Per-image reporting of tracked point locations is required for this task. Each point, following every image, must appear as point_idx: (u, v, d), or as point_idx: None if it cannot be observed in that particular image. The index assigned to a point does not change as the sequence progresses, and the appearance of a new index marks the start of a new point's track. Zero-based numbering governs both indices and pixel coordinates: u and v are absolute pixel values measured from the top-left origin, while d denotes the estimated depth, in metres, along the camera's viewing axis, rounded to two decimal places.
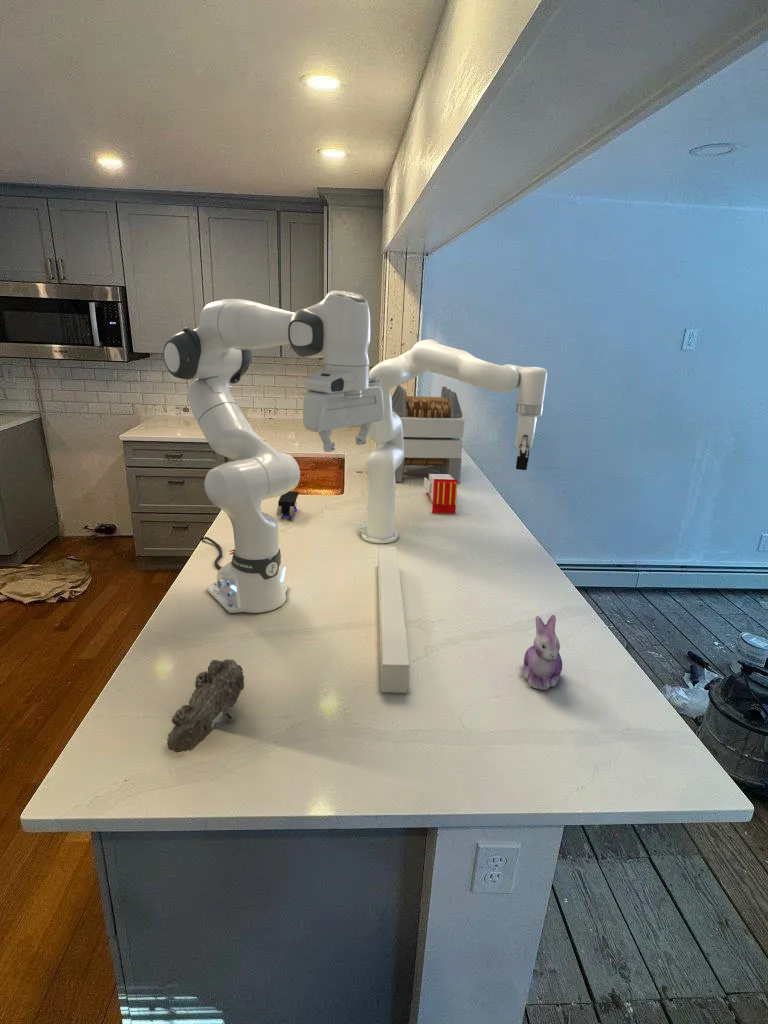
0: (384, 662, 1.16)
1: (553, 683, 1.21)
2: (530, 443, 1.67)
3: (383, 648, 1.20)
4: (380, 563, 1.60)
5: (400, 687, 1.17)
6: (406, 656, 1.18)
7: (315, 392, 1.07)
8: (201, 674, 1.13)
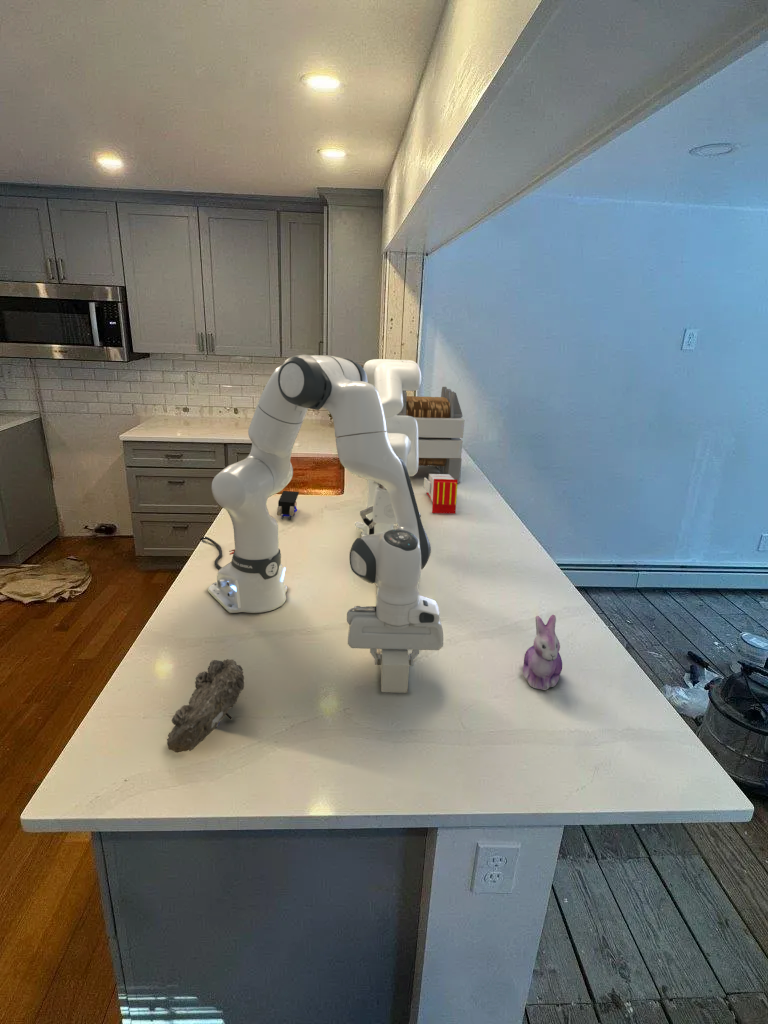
0: (384, 662, 1.16)
1: (553, 683, 1.21)
2: None
3: None
4: None
5: (400, 687, 1.17)
6: (406, 656, 1.18)
7: None
8: (201, 674, 1.13)
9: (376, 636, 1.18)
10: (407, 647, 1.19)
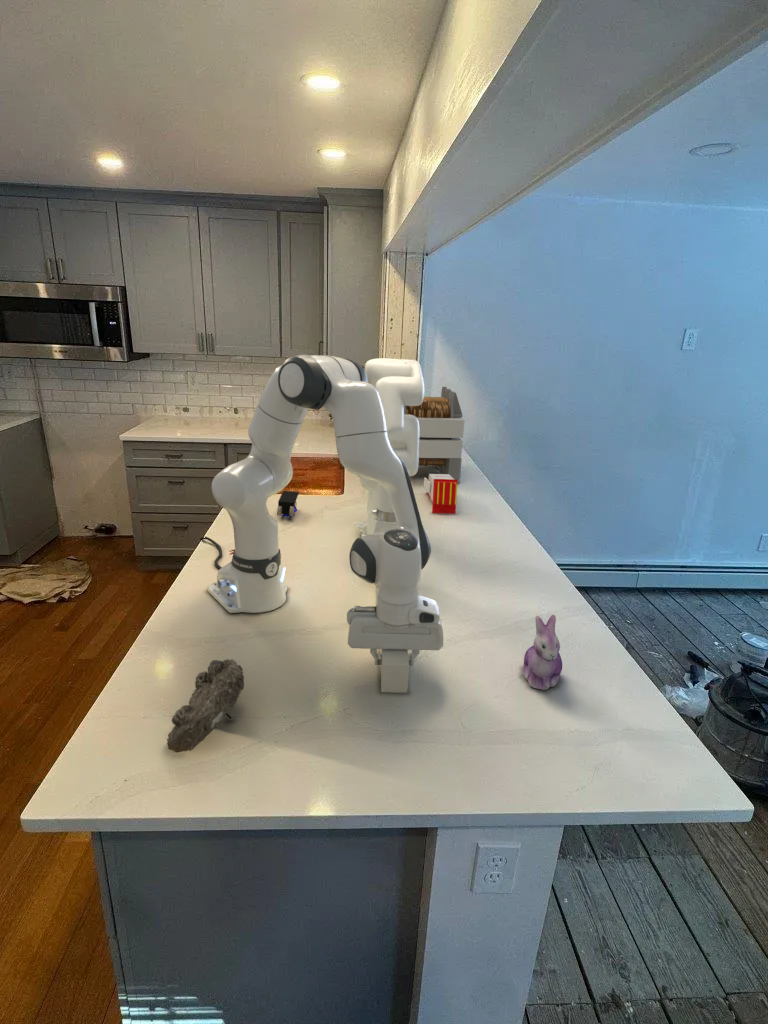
0: (384, 662, 1.16)
1: (553, 683, 1.21)
2: None
3: None
4: None
5: (400, 687, 1.17)
6: (406, 656, 1.18)
7: None
8: (201, 674, 1.13)
9: (376, 636, 1.18)
10: (407, 647, 1.19)
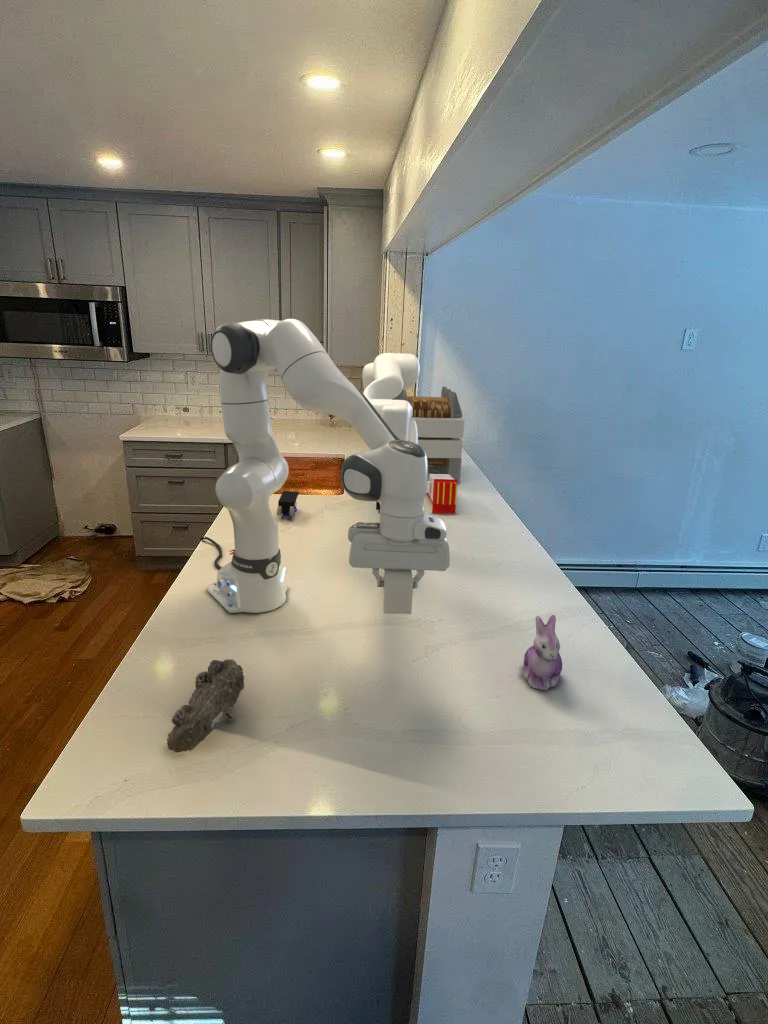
0: (387, 580, 1.09)
1: (553, 683, 1.21)
2: None
3: (386, 569, 1.14)
4: None
5: (403, 608, 1.11)
6: (410, 576, 1.12)
7: None
8: (201, 674, 1.13)
9: (379, 554, 1.12)
10: (411, 567, 1.13)
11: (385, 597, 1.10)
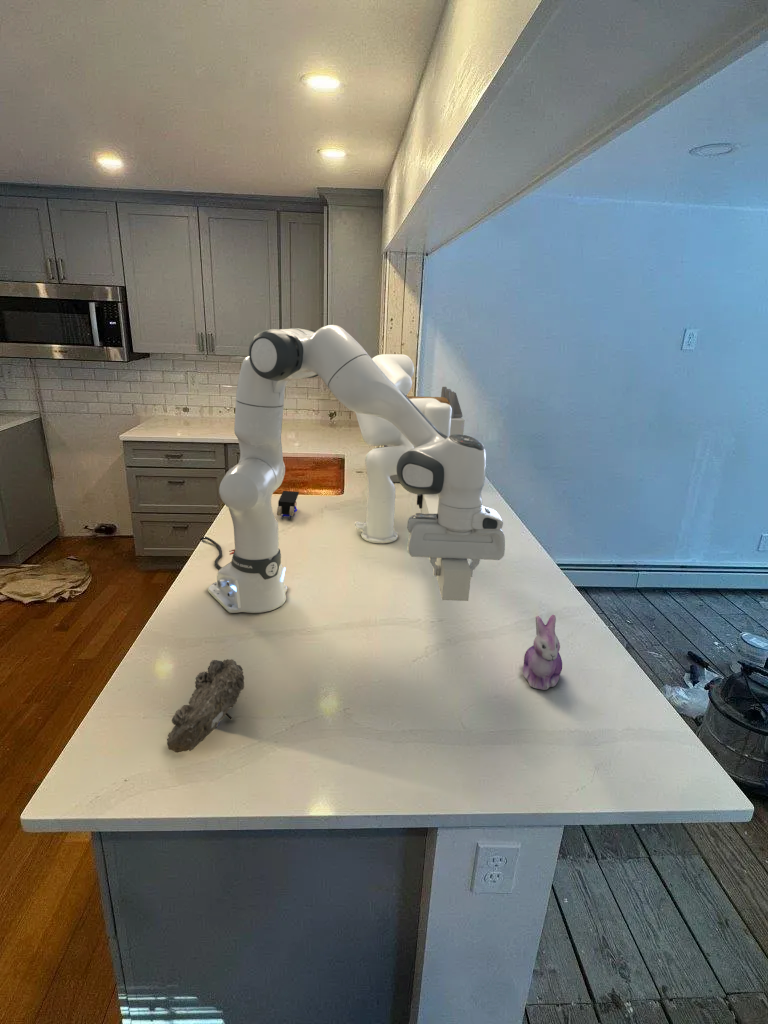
0: (446, 568, 1.14)
1: (553, 683, 1.21)
2: None
3: (442, 558, 1.19)
4: (425, 496, 1.59)
5: (461, 595, 1.16)
6: (467, 564, 1.17)
7: None
8: (201, 674, 1.13)
9: (437, 543, 1.17)
10: (468, 556, 1.18)
11: (444, 584, 1.15)
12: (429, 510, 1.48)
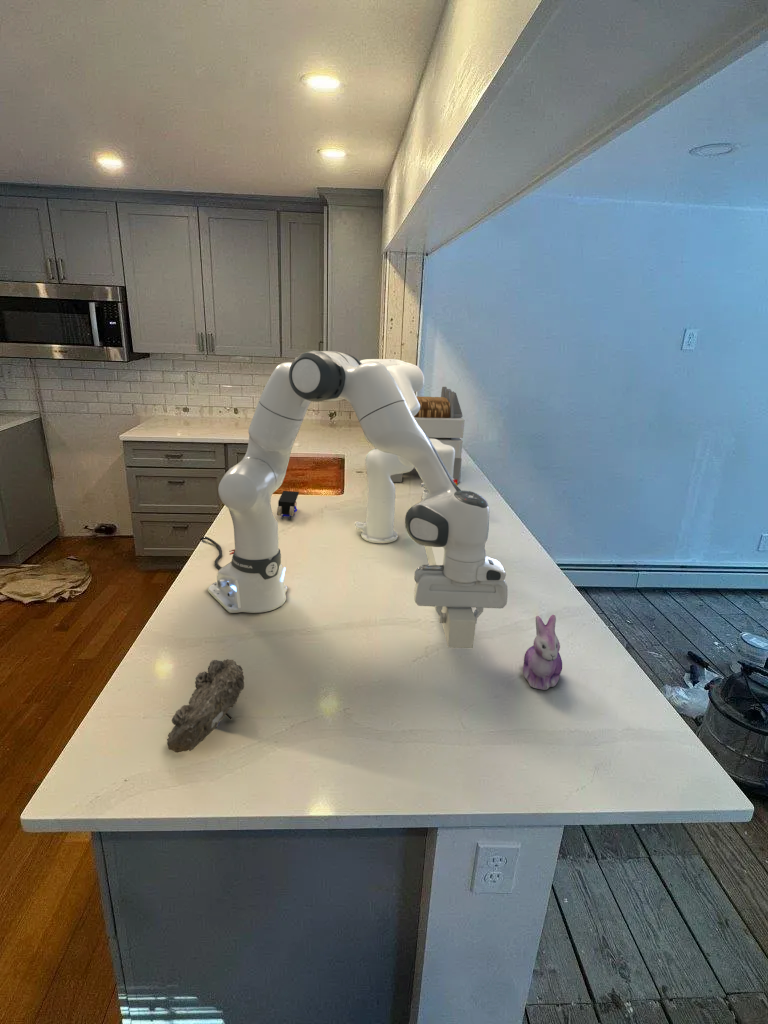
0: (451, 618, 1.20)
1: (553, 683, 1.21)
2: None
3: None
4: None
5: (466, 643, 1.21)
6: (471, 613, 1.22)
7: None
8: (201, 674, 1.13)
9: (443, 593, 1.22)
10: (472, 605, 1.23)
11: (450, 633, 1.20)
12: (433, 551, 1.53)
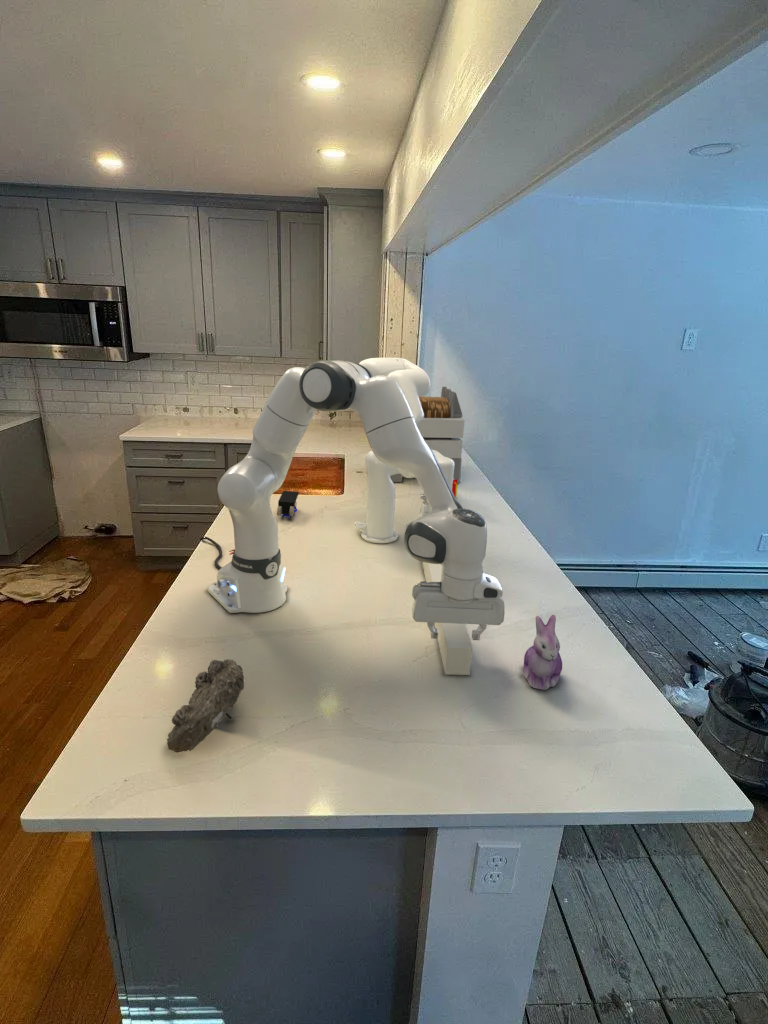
0: (448, 646, 1.22)
1: (553, 683, 1.21)
2: None
3: (445, 633, 1.27)
4: None
5: (463, 669, 1.23)
6: (468, 640, 1.24)
7: None
8: (201, 674, 1.13)
9: (440, 610, 1.23)
10: (469, 621, 1.24)
11: (447, 660, 1.23)
12: (431, 573, 1.55)
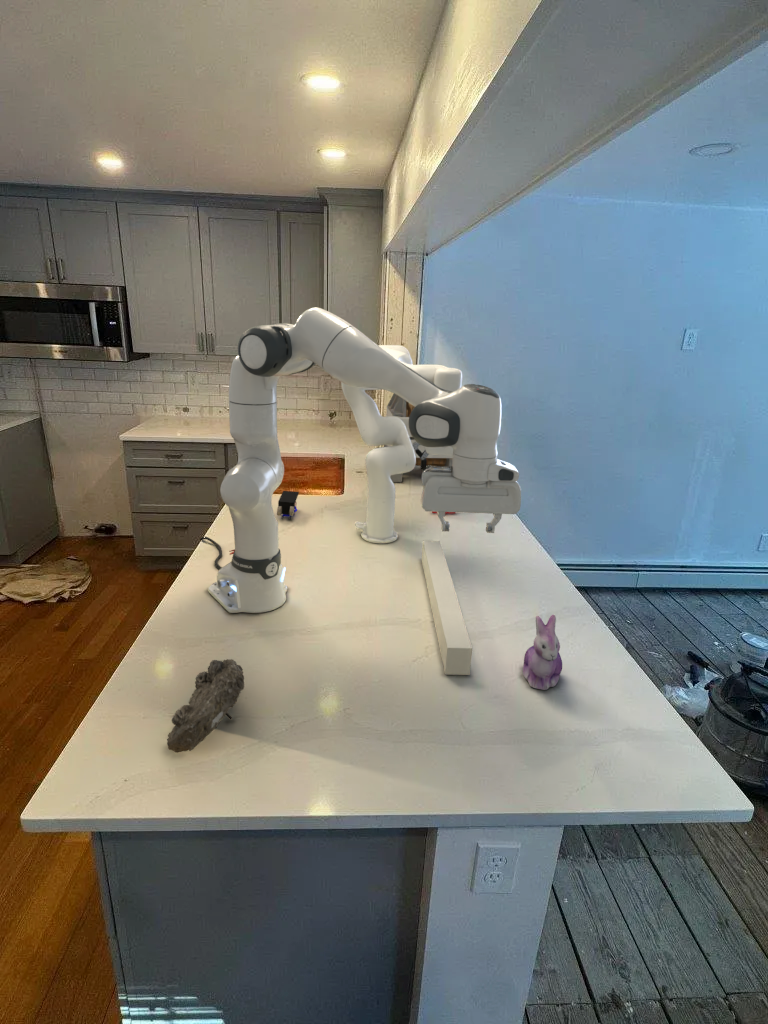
0: (448, 646, 1.22)
1: (553, 683, 1.21)
2: None
3: (445, 633, 1.27)
4: (427, 555, 1.67)
5: (463, 669, 1.23)
6: (468, 640, 1.24)
7: None
8: (201, 674, 1.13)
9: (452, 497, 1.14)
10: (483, 510, 1.15)
11: (447, 660, 1.23)
12: (431, 573, 1.55)
